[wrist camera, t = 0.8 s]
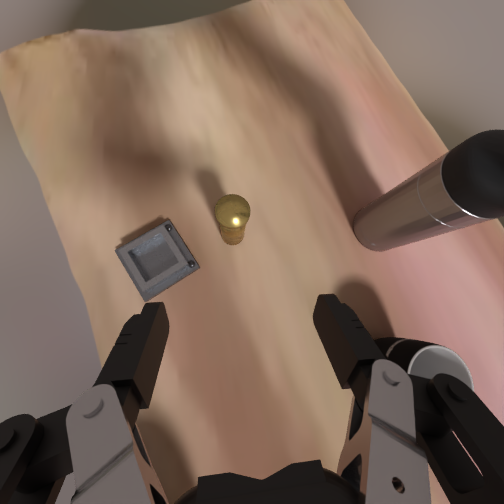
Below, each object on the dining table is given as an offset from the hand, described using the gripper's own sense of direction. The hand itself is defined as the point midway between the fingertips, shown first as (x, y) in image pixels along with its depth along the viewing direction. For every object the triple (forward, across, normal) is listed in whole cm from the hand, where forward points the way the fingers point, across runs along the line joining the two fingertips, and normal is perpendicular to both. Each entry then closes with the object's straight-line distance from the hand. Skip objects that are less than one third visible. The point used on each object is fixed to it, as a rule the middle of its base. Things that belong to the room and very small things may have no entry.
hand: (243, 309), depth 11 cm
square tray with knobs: (+23, +13, +12) cm, 29 cm away
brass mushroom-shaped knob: (+26, 0, +9) cm, 27 cm away
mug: (+10, -24, +26) cm, 36 cm away
